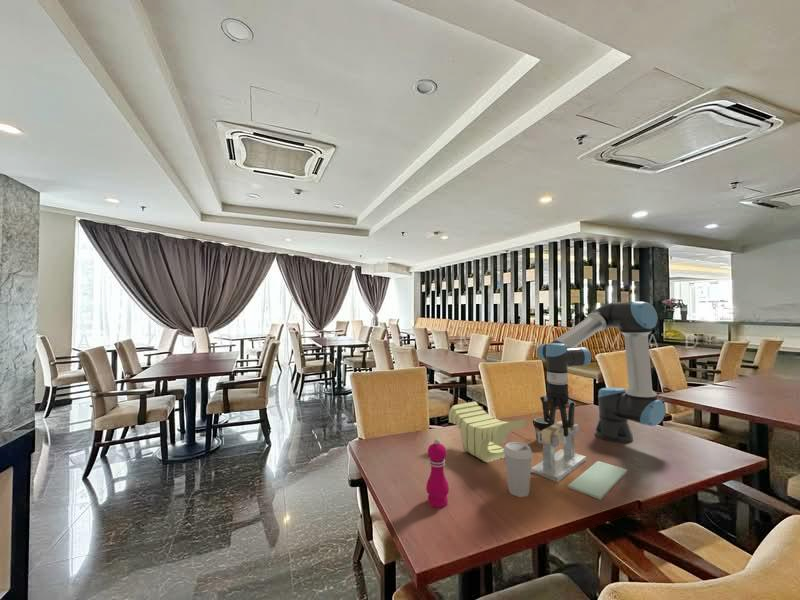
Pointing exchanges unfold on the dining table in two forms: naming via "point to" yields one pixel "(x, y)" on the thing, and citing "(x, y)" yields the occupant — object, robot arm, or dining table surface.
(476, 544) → the dining table surface
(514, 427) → the slatted curved stool
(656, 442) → the dining table surface
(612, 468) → the green mat
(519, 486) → the coffee cup
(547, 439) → the wooden rail
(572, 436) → the rail stand
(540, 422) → the coffee mug
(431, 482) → the pepper mill
